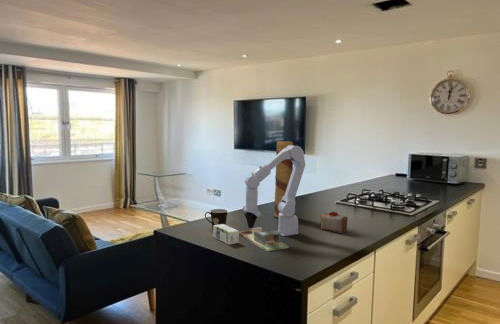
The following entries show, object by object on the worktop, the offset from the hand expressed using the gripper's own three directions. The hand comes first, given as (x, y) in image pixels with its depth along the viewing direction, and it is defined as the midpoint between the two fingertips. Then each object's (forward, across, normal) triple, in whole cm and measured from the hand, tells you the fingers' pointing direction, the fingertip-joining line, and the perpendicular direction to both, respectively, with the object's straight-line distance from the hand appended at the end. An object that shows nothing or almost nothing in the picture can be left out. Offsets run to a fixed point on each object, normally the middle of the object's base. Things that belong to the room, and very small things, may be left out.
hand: (250, 227), depth 175 cm
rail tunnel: (+4, +10, 0) cm, 11 cm away
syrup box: (+1, +9, -14) cm, 16 cm away
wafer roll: (+4, -24, +35) cm, 43 cm away
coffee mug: (+4, -16, -11) cm, 20 cm away
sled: (+3, +11, 0) cm, 11 cm away
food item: (+4, +11, +43) cm, 45 cm away
